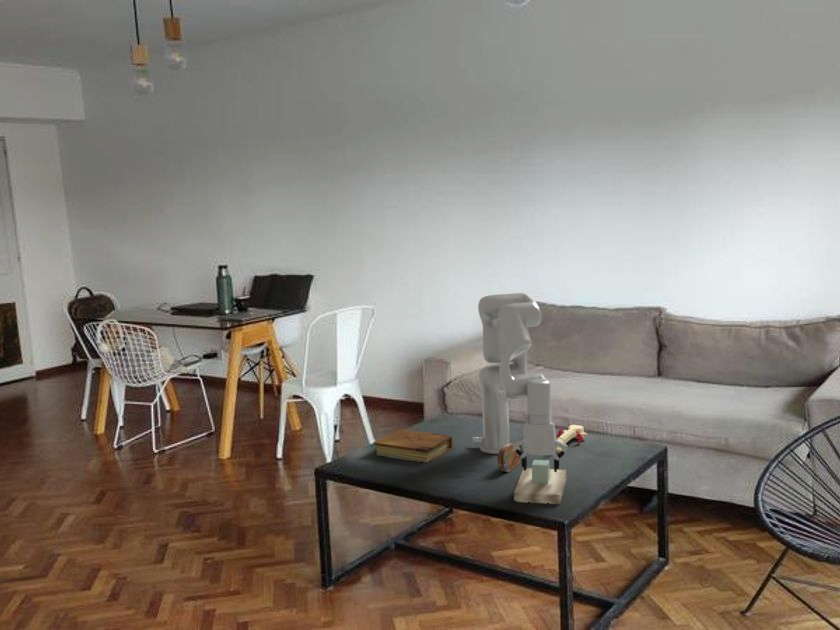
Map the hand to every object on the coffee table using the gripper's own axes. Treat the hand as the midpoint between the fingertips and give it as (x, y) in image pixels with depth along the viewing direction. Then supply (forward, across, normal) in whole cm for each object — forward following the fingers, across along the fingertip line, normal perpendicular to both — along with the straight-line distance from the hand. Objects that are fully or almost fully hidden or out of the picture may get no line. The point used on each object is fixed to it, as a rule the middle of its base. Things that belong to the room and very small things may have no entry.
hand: (540, 470), depth 260 cm
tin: (+7, -13, +19) cm, 24 cm away
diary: (+8, -51, +31) cm, 60 cm away
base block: (+7, 0, 0) cm, 7 cm away
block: (+4, 0, 0) cm, 4 cm away
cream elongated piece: (+7, +4, +46) cm, 47 cm away
